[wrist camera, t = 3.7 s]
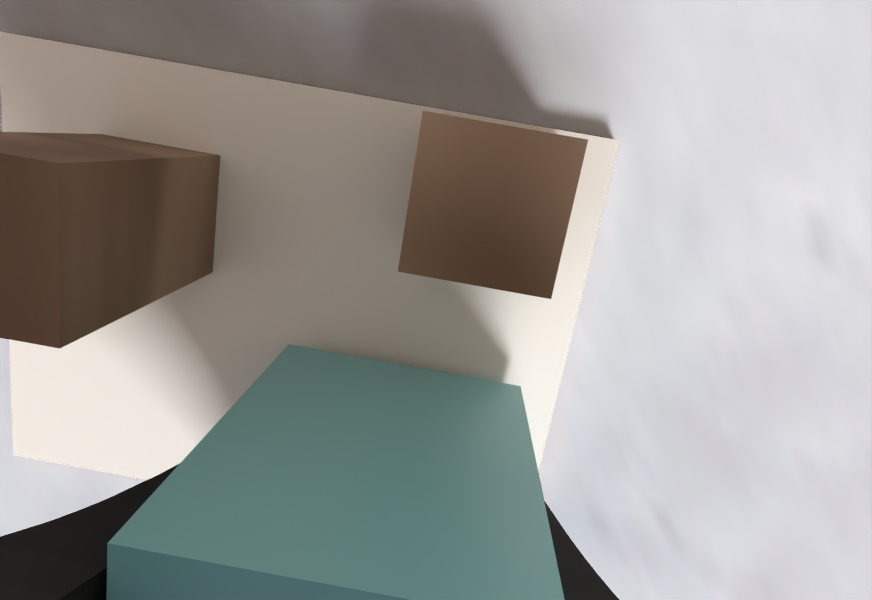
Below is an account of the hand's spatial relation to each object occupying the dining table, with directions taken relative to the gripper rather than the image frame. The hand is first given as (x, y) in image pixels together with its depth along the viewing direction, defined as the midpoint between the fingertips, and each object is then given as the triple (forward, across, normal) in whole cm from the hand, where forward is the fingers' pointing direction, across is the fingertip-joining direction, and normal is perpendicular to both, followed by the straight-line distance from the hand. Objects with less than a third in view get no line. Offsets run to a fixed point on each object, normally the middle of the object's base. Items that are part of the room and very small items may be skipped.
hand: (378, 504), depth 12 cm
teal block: (+1, 0, 0) cm, 1 cm away
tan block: (+2, -1, -6) cm, 7 cm away
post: (+2, +6, -5) cm, 8 cm away
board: (+2, +3, -3) cm, 5 cm away
